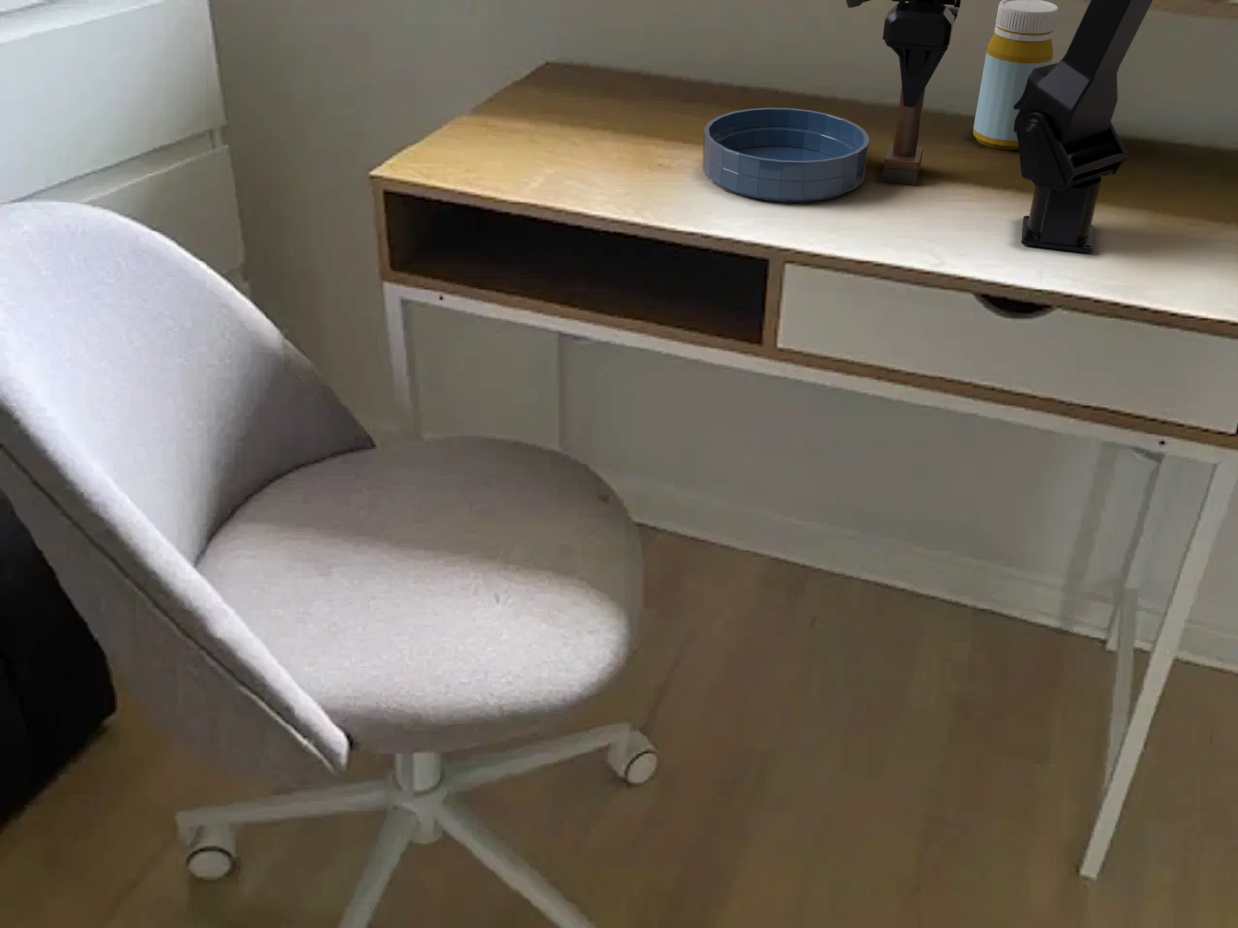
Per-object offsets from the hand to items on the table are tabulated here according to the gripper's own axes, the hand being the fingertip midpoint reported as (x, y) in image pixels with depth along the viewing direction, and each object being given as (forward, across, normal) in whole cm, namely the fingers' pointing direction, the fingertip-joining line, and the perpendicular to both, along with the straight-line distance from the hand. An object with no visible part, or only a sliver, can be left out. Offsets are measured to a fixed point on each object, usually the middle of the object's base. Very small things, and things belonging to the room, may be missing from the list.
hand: (913, 93), depth 133 cm
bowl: (+9, +4, -12) cm, 15 cm away
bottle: (+9, -15, +10) cm, 20 cm away
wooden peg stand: (+9, 0, 0) cm, 9 cm away
